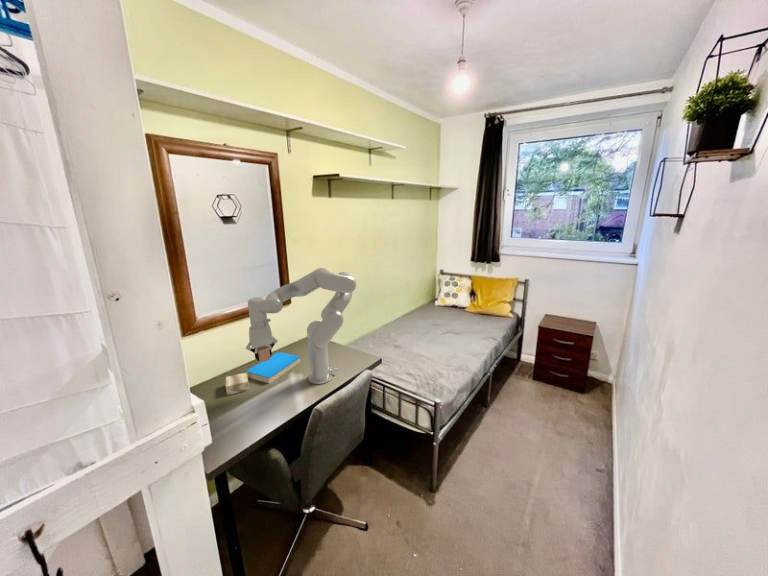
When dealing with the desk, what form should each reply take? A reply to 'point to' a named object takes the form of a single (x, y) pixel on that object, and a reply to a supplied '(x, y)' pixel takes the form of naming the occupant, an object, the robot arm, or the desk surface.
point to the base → (237, 383)
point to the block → (263, 353)
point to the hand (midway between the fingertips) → (263, 357)
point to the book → (273, 367)
